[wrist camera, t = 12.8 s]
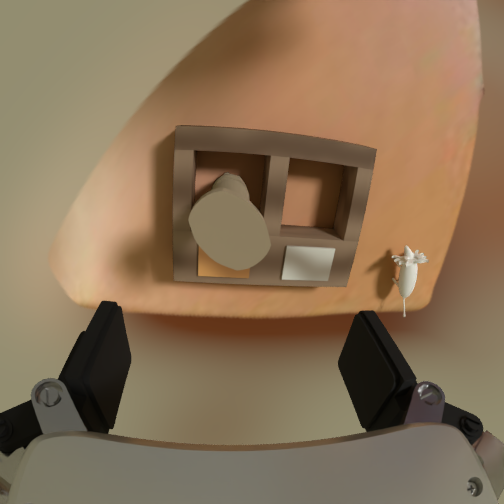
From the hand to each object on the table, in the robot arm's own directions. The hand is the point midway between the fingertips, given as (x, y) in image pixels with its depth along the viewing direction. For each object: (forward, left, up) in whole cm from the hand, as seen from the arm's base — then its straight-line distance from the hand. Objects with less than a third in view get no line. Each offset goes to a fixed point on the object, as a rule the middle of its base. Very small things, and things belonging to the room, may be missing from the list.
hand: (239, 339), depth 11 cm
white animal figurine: (+11, +27, -26) cm, 39 cm away
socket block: (+2, +5, -26) cm, 27 cm away
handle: (0, 0, -26) cm, 26 cm away
